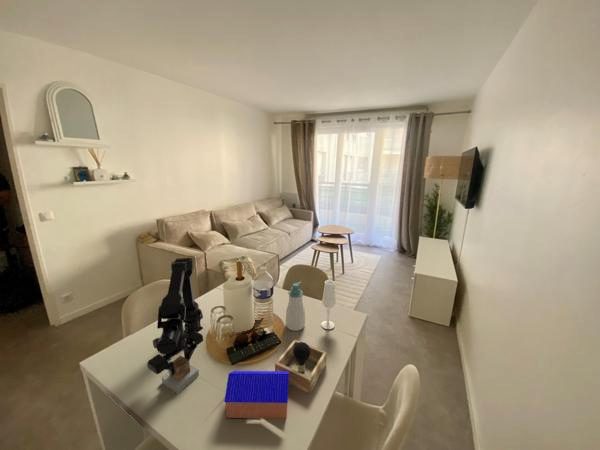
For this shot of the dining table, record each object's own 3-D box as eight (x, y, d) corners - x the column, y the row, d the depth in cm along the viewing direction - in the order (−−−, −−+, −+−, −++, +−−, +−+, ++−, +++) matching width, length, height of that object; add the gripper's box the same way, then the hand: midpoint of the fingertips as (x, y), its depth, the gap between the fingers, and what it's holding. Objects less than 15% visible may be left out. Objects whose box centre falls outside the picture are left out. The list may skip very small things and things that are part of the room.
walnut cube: (181, 366, 94) (180, 355, 93) (190, 371, 92) (189, 360, 90) (169, 375, 90) (168, 364, 88) (178, 381, 87) (176, 370, 86)
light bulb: (309, 363, 99) (309, 338, 96) (310, 377, 93) (311, 351, 90) (292, 363, 99) (293, 338, 96) (293, 377, 92) (293, 351, 89)
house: (235, 385, 89) (233, 359, 86) (289, 386, 89) (289, 359, 86) (225, 418, 77) (223, 389, 75) (287, 419, 77) (287, 390, 75)
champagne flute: (330, 331, 119) (332, 286, 113) (318, 325, 123) (320, 282, 117) (336, 324, 124) (339, 281, 118) (325, 319, 128) (327, 277, 122)
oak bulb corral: (294, 351, 106) (294, 339, 104) (326, 364, 99) (326, 352, 97) (275, 376, 93) (274, 363, 91) (309, 394, 86) (310, 380, 84)
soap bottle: (308, 324, 123) (309, 284, 118) (296, 334, 116) (296, 291, 111) (294, 317, 129) (295, 278, 124) (281, 325, 122) (281, 284, 117)
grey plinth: (184, 366, 97) (183, 360, 97) (199, 376, 93) (198, 369, 92) (162, 383, 90) (161, 377, 89) (177, 394, 85) (176, 388, 85)
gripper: (183, 313, 98) (187, 345, 102) (135, 341, 82) (141, 378, 86) (202, 321, 93) (205, 355, 97) (154, 353, 77) (160, 392, 81)
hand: (179, 369), depth 90 cm, fingers open, 6 cm apart
